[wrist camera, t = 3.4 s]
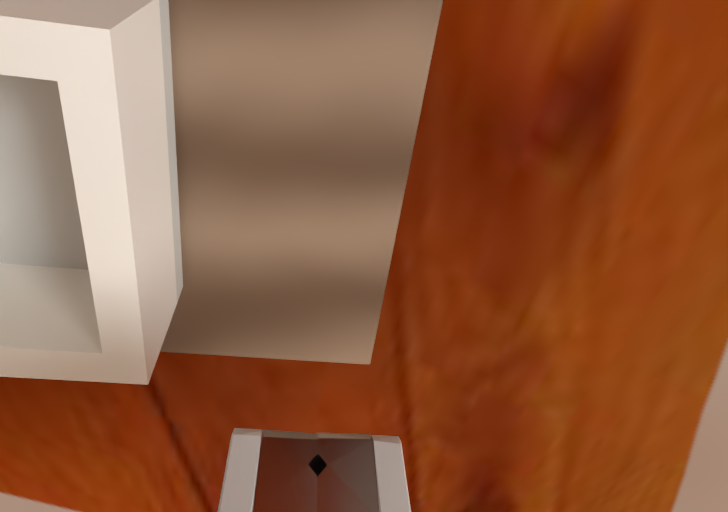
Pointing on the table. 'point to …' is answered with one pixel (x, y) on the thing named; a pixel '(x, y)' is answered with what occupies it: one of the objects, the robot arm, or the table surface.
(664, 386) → the table surface
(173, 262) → the frame
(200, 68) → the board
